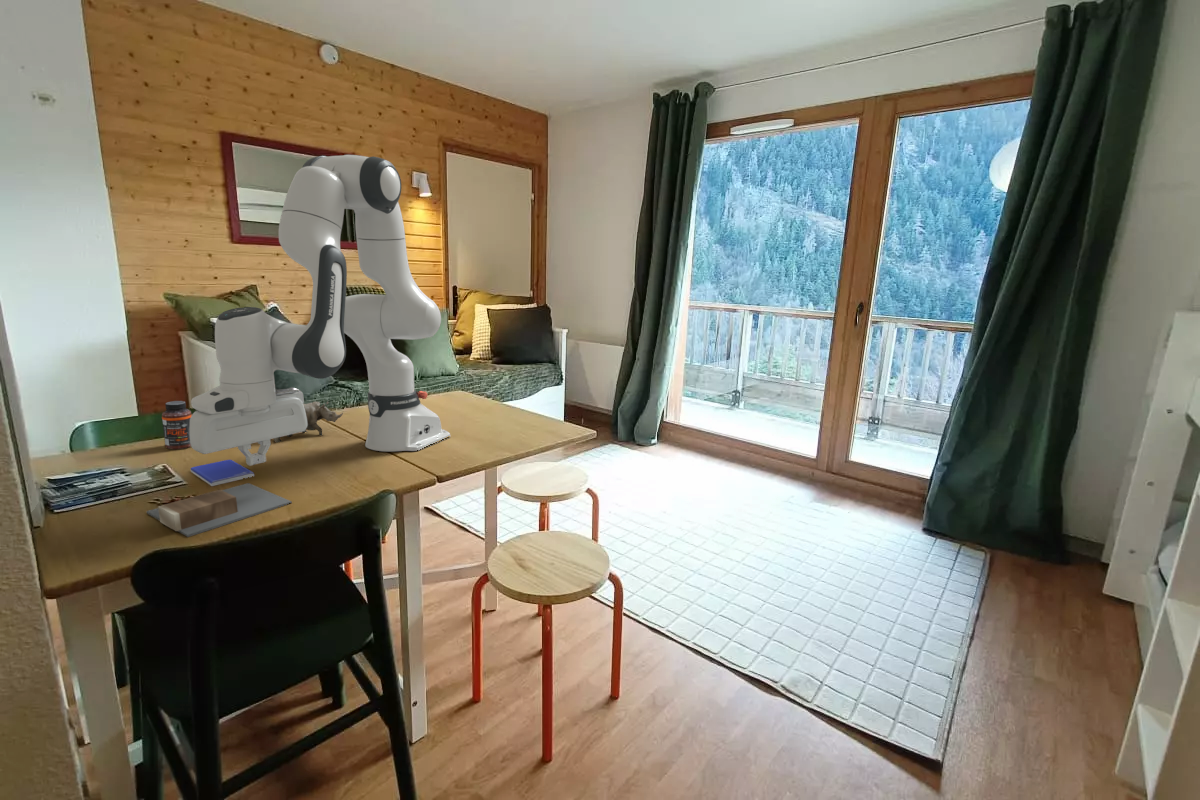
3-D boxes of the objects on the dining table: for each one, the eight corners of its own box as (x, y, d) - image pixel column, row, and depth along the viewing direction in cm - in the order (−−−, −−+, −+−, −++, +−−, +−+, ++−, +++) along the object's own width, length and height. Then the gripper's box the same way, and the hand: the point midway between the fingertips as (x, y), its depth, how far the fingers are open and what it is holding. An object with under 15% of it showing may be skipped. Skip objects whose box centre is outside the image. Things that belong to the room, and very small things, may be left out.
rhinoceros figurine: (257, 427, 151) (291, 381, 153) (304, 449, 160) (336, 404, 162) (262, 437, 145) (297, 389, 147) (311, 459, 154) (344, 413, 156)
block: (219, 489, 108) (158, 506, 100) (236, 497, 105) (173, 515, 97) (221, 504, 109) (160, 522, 100) (237, 512, 106) (176, 531, 97)
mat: (248, 484, 120) (248, 482, 119) (291, 503, 111) (291, 501, 111) (146, 513, 105) (146, 511, 104) (187, 537, 96) (187, 534, 96)
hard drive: (254, 471, 124) (231, 458, 132) (211, 481, 118) (190, 467, 125) (254, 478, 125) (232, 465, 132) (212, 488, 118) (190, 474, 126)
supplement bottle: (166, 451, 137) (160, 406, 135) (164, 445, 142) (158, 401, 139) (196, 447, 141) (190, 403, 139) (194, 441, 145) (188, 398, 143)
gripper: (293, 383, 118) (298, 447, 121) (180, 401, 101) (190, 474, 104) (311, 388, 114) (316, 453, 118) (197, 407, 97) (207, 482, 101)
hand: (256, 463), depth 111 cm, fingers closed
